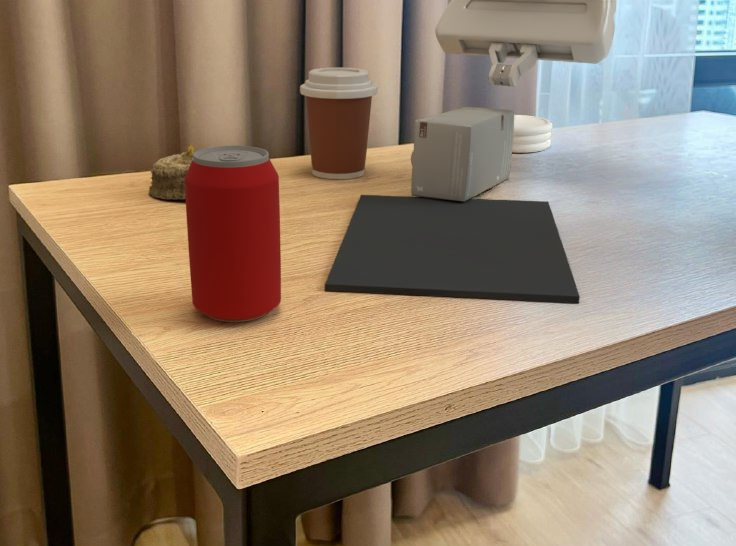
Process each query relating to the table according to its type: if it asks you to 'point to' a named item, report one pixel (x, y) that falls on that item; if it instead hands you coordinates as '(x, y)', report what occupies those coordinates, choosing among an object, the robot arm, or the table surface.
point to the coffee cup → (338, 120)
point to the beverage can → (233, 232)
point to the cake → (171, 175)
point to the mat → (453, 250)
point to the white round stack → (531, 134)
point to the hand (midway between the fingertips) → (501, 82)
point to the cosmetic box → (461, 152)
